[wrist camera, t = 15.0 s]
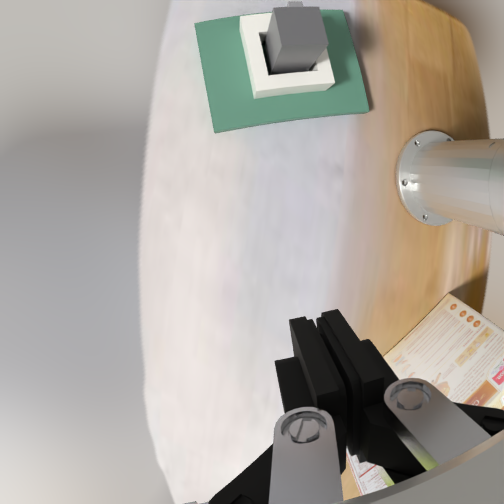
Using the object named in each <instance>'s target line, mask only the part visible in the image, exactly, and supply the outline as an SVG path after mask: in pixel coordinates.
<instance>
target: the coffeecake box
mask: <svg viewBox="0 0 504 504" xmlns="http://www.w3.org/2000/svg"><path fill="white" fill-rule="evenodd" d="M383 358H384V359H385V361H386V362H387V363H388V365H389V366H390V367H391V369H392V370H393V372H394V373H395V374H396V376H397V377H398V378H399V380H401V379H405V378H420V379H423V380H426V381H428V382H429V383H431V384H432V385H433V386H435V387H436V388H437V389H438V390H439V391H440V392H441V393H443V394H444V395H445V396H446V397H447V398H448V399H449V400H451V401H452V402H456V403H462V404H469V405H476V406H483V407H491V408H498V409H502V410H504V330H502V329H501V328H500V327H498V326H497V325H495V324H494V323H492V322H491V321H490V320H488V319H487V318H485V317H484V316H483V315H481V314H480V313H478V312H477V311H475V310H474V309H472V308H471V307H469V306H468V305H466V304H465V303H463V302H462V301H460V300H459V299H457V298H456V297H454V296H453V295H451V294H449V293H448V294H447V295H446V296H445V297H444V298H443V299H442V300H441V301H440V303H439V304H438V305H437V306H436V307H435V308H434V309H433V310H432V311H431V312H430V313H429V314H428V315H427V316H426V317H425V318H424V319H423V320H422V321H421V322H420V323H419V324H418V325H417V326H416V327H415V328H414V329H413V330H412V331H411V332H410V333H409V334H408V335H406V336H405V337H404V338H403V339H402V340H401V341H400V342H399V343H398V344H397V345H396V346H395V347H393V348H392V349H391V350H390V351H389V352H388V353H387V354H386V355H385V356H383Z"/></svg>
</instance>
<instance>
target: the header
mask: <svg viewBox="0 0 504 504" xmlns="http://www.w3.org/2000/svg"><path fill="white" fill-rule="evenodd" d="M271 15H272V13H264V14H254V15H246V16H240V29H239V30H240V34H241V39H242V43H243V48H244V52H245V57H246V62H247V67H248V71H249V76H250V81H251V86H252V91H253V96H254V99H257V98H264V97H271V96H278V95H286V94H294V93H304V92H314V91H326V90H327V89H328V88H330V87H331V86H332V85H333V84H334V83H335V80H334V76H333V72H332V68H331V64H330V60H329V56H328V52H327V48H326V49H325V50H324V51H323V52H322V54H321V55H320V56H319V57H318V59H317V60H316V61H315V63H314V64H313V65H312V66H311V68H310V69H309V71H307V72H296V73H286V74H277V75H269V76H268V72H267V67H266V63H265V58H264V54H263V49H262V45H261V44H264V43H265V39H266V35H267V31H268V27H269V23H270V19H271Z"/></svg>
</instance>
